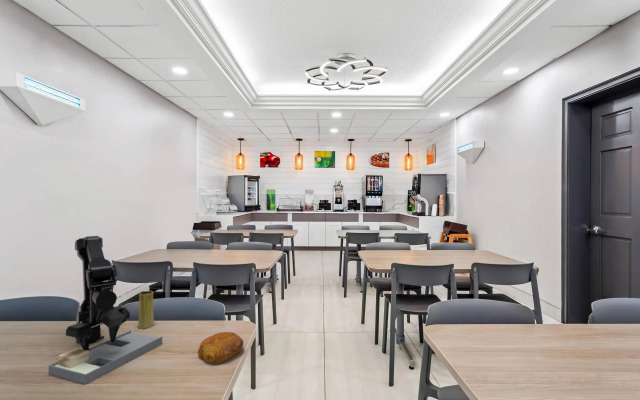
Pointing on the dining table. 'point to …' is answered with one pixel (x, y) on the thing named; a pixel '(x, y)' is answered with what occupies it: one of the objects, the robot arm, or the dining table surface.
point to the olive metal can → (146, 309)
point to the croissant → (220, 347)
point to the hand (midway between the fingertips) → (100, 347)
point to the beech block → (73, 357)
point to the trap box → (107, 357)
